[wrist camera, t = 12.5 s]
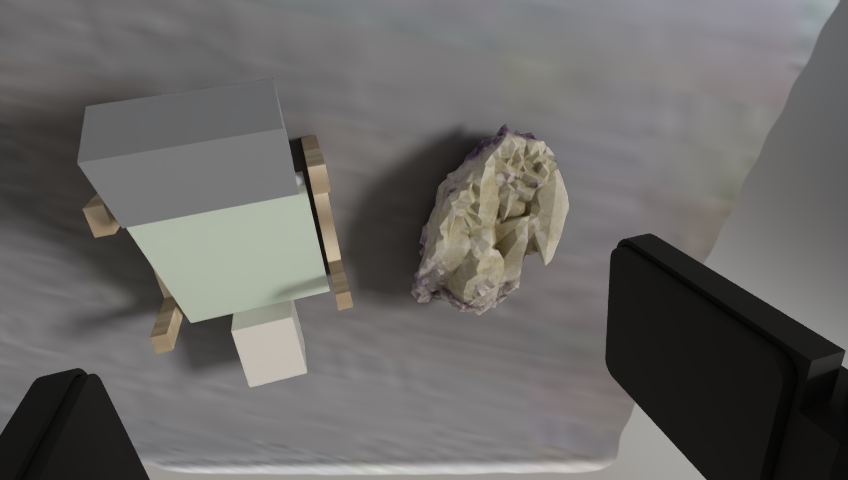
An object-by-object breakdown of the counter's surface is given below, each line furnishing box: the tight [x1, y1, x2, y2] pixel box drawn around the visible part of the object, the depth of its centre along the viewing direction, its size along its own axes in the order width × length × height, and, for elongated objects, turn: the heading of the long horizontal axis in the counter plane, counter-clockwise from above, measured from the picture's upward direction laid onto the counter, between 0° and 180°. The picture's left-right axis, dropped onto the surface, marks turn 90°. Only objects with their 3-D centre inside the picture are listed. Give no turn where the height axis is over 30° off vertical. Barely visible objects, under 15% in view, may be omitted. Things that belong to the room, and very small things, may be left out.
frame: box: [83, 135, 353, 354], centre depth 41 cm, size 13×15×9 cm
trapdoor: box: [77, 78, 330, 323], centre depth 39 cm, size 20×12×5 cm, turn 9°
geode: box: [411, 124, 569, 315], centre depth 47 cm, size 17×9×15 cm
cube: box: [231, 300, 307, 387], centre depth 47 cm, size 5×5×6 cm
